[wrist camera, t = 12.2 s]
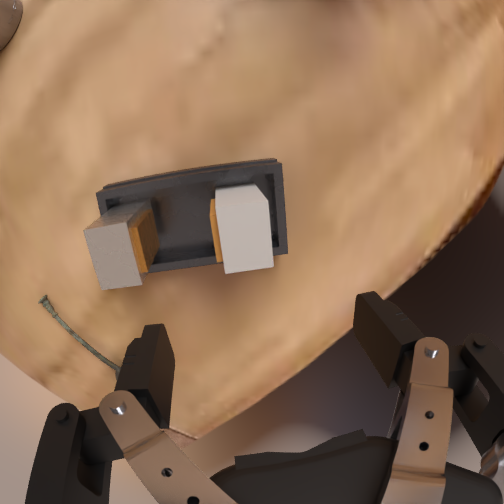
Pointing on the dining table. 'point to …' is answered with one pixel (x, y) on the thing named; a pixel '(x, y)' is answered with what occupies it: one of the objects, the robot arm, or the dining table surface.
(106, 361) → the soupspoon
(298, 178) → the dining table surface
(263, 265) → the white block
